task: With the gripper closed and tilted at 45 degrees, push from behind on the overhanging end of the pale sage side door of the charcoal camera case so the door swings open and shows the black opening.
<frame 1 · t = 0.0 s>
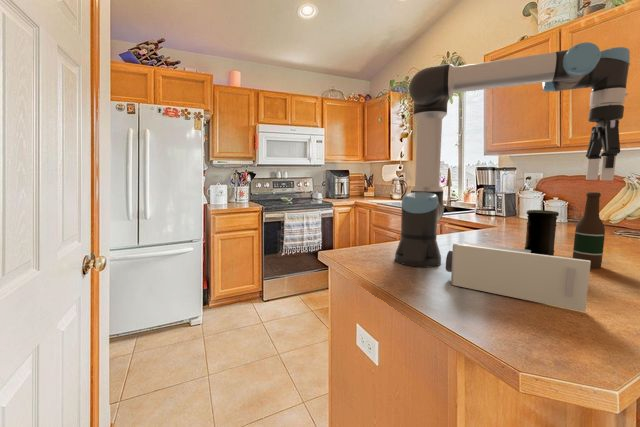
hand: (598, 180, 93), 28 cm above the counter, tool pointing down, fingers open, 13 cm apart
camera case: (490, 286, 83), on the counter
beer bottle: (585, 266, 102), on the counter
side door: (511, 274, 74), point 6 cm above the counter, hinge at 0.0°
container: (537, 266, 102), on the counter
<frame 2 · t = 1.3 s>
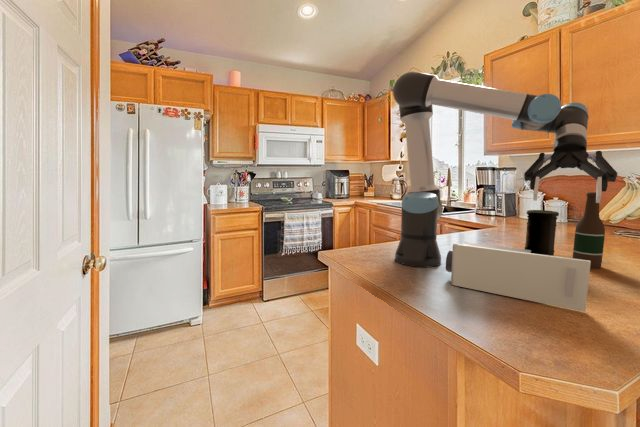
hand: (565, 198, 80), 23 cm above the counter, tool tilted 45°, fingers open, 12 cm apart
nothing on the counter moved.
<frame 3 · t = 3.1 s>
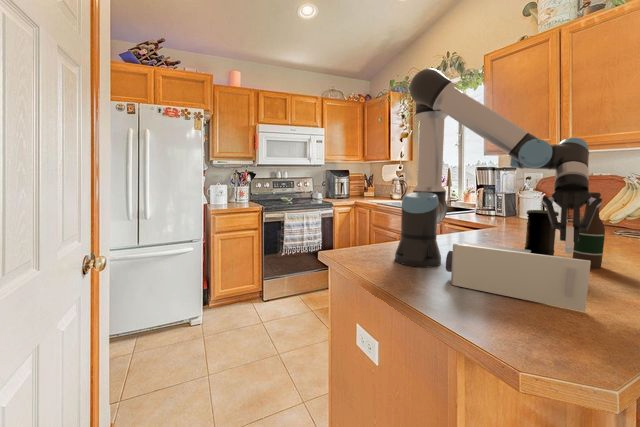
hand: (568, 250, 77), 11 cm above the counter, tool tilted 45°, fingers closed
nothing on the counter moved.
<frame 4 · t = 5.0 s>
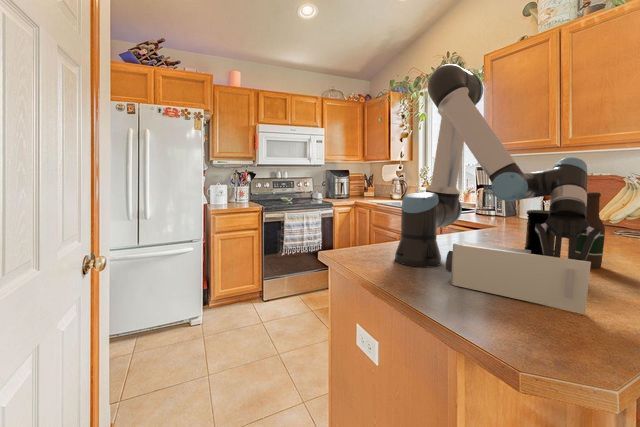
hand: (562, 287, 69), 4 cm above the counter, tool tilted 45°, fingers closed
side door: (511, 275, 73), point 6 cm above the counter, hinge at 2.5°
everything else where it was.
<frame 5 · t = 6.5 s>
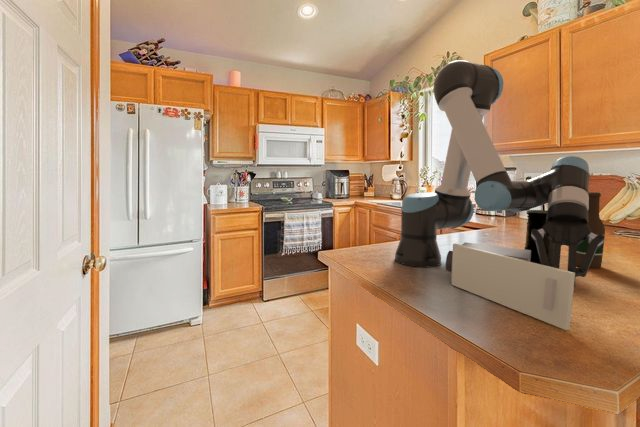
hand: (561, 302, 61), 4 cm above the counter, tool tilted 45°, fingers closed
side door: (499, 279, 70), point 6 cm above the counter, hinge at 27.7°, touching gripper
everything else where it was.
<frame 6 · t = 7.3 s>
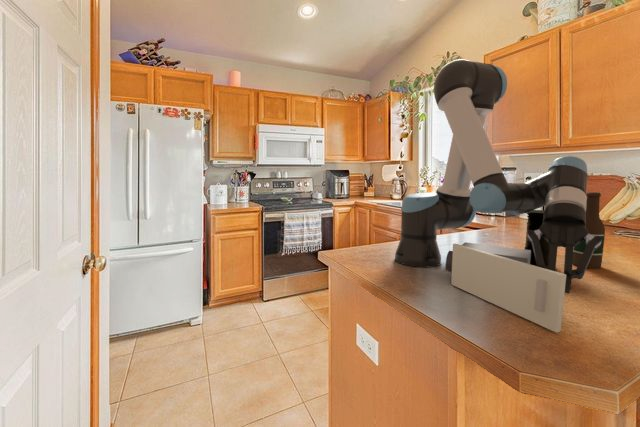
hand: (556, 305, 60), 5 cm above the counter, tool tilted 45°, fingers closed
side door: (494, 280, 70), point 6 cm above the counter, hinge at 33.4°, touching gripper
everything else where it was.
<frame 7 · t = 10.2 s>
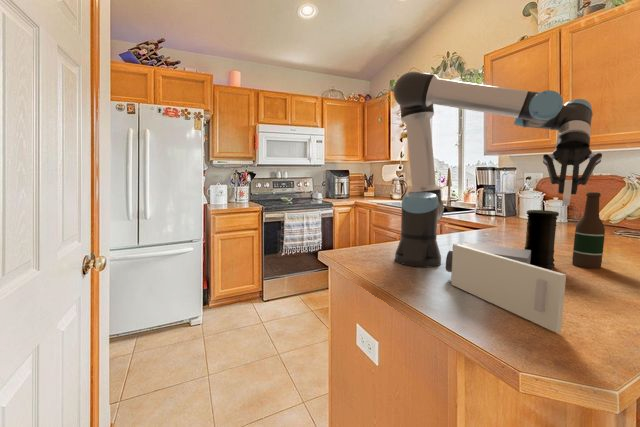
hand: (566, 201, 79), 23 cm above the counter, tool tilted 45°, fingers closed
side door: (494, 280, 70), point 6 cm above the counter, hinge at 33.5°
everything else where it was.
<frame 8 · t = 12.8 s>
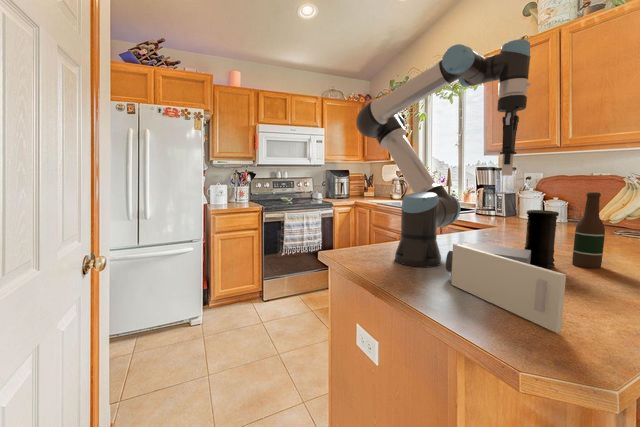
hand: (506, 175, 96), 29 cm above the counter, tool pointing down, fingers closed
nothing on the counter moved.
at the end: side door at +34° (first picture: +0°); container moved 0.2 cm from its start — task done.
